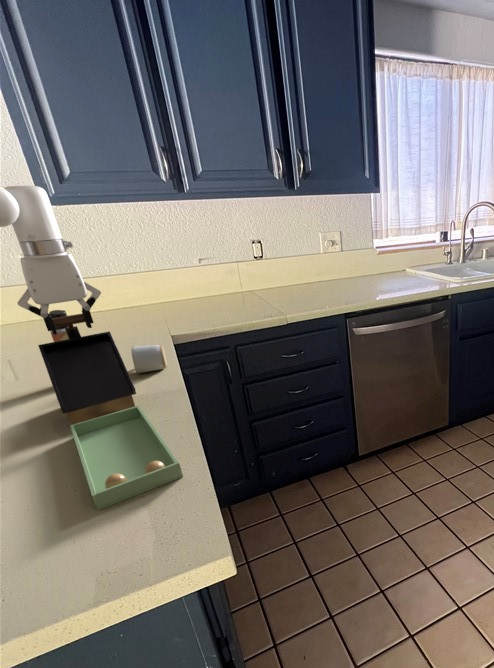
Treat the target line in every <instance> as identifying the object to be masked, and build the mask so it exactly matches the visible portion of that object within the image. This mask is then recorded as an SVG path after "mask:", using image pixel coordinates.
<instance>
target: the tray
mask: <svg viewBox="0 0 494 668" xmlns="http://www.w3.org/2000/svg"><path fill="white" fill-rule="evenodd" d="M69 427H70V430H71V433H72V438H73V440H74V443H75V447H76V449H77V453H78V456H79V460H80V463H81V467H82V469H83V472H84V476H85V479H86V482H87V485H88V488H89V491H90V495H91V497H92V500H93V503H94V506H95V508H96V510H97V511H100V510H102V509H105V508H108V507H110V506H113V505H115V504H118V503H121V502H122V501H126V500H128V499H130V498H134V497H136V496H138V495H141V494H143V493H145V492H148V491H151V490H153V489H155V488H158V487H161V486H163V485H166V484H168V483H171V482H173V481H175V480H178V479H181V478H183V477H184V475H183V471H182V468H181V464H180V462H179V460H178V459H177V458H176V456H175V454H174V453H173V452H172V450H171V448H170V447H169V446H168V445H167V443H166V442H165V440H164V439H163V438H162V436H161V435H160V433H159V432H158V430H157V429H156V427H155V426H154V425H153V423H152V422H151V420H150V419H149V417H148V416H147V415H146V413H145V412H144V410H143V409H142V407H141V406H140V405H135V407H132V408H129V409H125V410H122V411H118V412H115V413H111V414H108V415H104V416H101V417H97V418H94V419H91V420H87V421H84V422H80V423H77V424H73V425H71V424H70V425H69ZM152 461H160V462H162V463H163V464H164V465H165V467H163V468H160V469H158V470H155V471H152V472H150V473H147V474H145V468H146V466H147V465H148V464H149V463H150V462H152ZM112 474H122V475H124V476H125V477H126V479H127V481H126V482H123V483H121V484H118V485H115V486H113V487H110V488H107V489H106V488H105V481H106V479H107V478H108V477H109V476H110V475H112Z"/></svg>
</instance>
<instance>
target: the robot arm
mask: <svg viewBox="0 0 494 668" xmlns="http://www.w3.org/2000/svg"><path fill="white" fill-rule="evenodd" d="M52 207H53V206H52V203H51V201H50V198H49V196H48V193H47V191H46V190H45V189H44V188H43V187H40V186H38V185H11V186H10V185H9V186H4V187H2V186H0V228H4V227H8V226H11V225H12V228H13V231H14V233H15V235H16V239H17V241H18V244H19V246H20V250H21V252H22V255H23V257H20V258H19V259H20V266H21V271H22V275H23V277H24V281H25V284H26V287H27V288H26V290H25V291H24V292H23V294H22V295H21V297H19V299H18V301H17V305H18V306H19V307H21V308H23V309H25V310H28V311H29V312H30V313H33V314H35V315H37V316H39V317H40V318H42V319H43V321H44V324H45V327H46V330H47V331H48V332H50V331H52V332H53V335H56V334H57V332H56V329H55V326H54V324H53V321H52V318H51V316H49V308H50V307H49V306H50V305H53V304H60V303H67V302H73V301H76V302H77V303H78V304H79V305H80V306H81V314H83V315H84V318H85V321H86V322H84V323H85V325H86V327H87V328H88V329H92V328H93V327H92V324H94V319H93V316H92V314H91V309H92V307H93V306H94V305H95V303H96V302H97V300H98V299H99V297H100V296H101V294H102V291H101V290H99V289H98V288H96V287H95V286H92V285H91V284H89V283H88V282H85V281H84V279H83V276H82V274H81V271H80V270H79V267H78V265H77V263H76V261H75V259H74V257H73V255H72V253H69V252H67V250H69V249H70V248H71V249H73V248H74V246H73V243H72V241H71V240H69V241H67V240H64V239H63V238H62V234H61V231H60V228H59V224H58V222H57V219H56V216H55V213H54V210H53V208H52ZM88 291H89V292H90V293H91V294H90V296H89V297H88V298H87V296H88ZM85 298H87V300H85ZM29 300H32V301H33V303H35V304H36V305H38V306H39V305H40V307H37V306H35V305H33V304H31V303H29Z"/></svg>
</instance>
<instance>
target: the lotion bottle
mask: <svg viewBox="0 0 494 668" xmlns="http://www.w3.org/2000/svg"><path fill="white" fill-rule="evenodd" d="M48 314H49V316H51V318H52V319H53V318H59V317H65V316H68V314H67V312H66V310H65V309H64V310H63V309H53V310H50V311H48ZM65 328H68V325H66V326H60V327H55V329H56V332H57V334H56V335H53V332H52V331H49V332H50V335H51V339H52V342H57V341H62V340H67V339H69V338H68V335H67V333H66V330H65Z"/></svg>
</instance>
